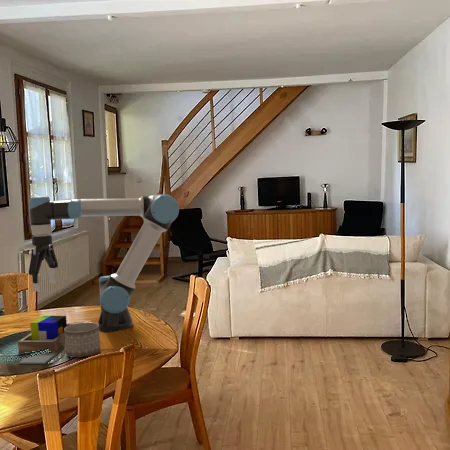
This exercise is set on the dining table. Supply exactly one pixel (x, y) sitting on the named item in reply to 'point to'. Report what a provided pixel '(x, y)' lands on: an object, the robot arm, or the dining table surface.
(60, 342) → the pocket frame
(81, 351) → the planter
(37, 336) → the puzzle toy
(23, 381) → the dining table surface
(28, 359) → the mat
